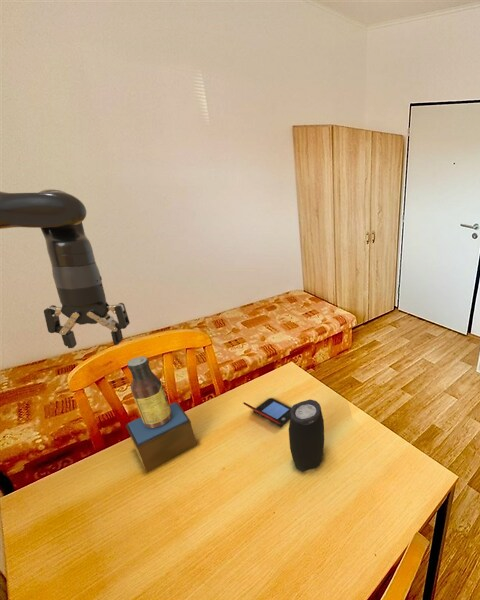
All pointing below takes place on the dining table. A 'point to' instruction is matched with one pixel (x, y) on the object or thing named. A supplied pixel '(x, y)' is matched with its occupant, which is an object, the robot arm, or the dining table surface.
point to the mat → (147, 433)
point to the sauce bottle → (148, 394)
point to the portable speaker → (306, 434)
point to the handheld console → (273, 411)
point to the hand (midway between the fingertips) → (95, 345)
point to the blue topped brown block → (165, 445)
